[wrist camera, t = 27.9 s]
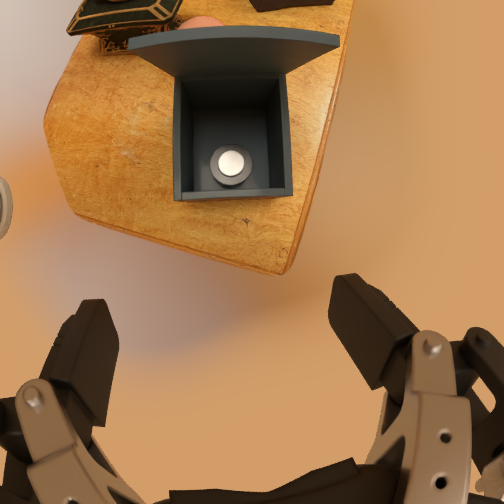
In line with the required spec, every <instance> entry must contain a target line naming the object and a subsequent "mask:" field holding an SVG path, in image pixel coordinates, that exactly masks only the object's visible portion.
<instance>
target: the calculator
mask: <svg viewBox="0 0 504 504" xmlns="http://www.w3.org/2000/svg"><path fill="white" fill-rule="evenodd" d="M250 1H251V3H252V4H253V6H254V7H255V9H256V10H257V11H258V12H261V11H269V10H277V9H280V8H282V7H288V6H302V5H332V4H333V2H334V1H335V0H250Z"/></svg>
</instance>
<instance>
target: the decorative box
mask: <svg viewBox="0 0 504 504" xmlns="http://www.w3.org/2000/svg"><path fill="white" fill-rule="evenodd" d="M182 1H183V0H84V1H83V2H82V3H81V5H80V6H79V8H78V10H77V12H76V13H75V15H74V17H73V19H72V20H71V22H70V24H69V25H68V27H67V29H66V31H67V33H68V34H69V35H70V36H75V35H83V34H91V35H95V36H96V37H98V38H99V41H100V53H101V54H102V56H106V55H117V54H133V53H132V52H130V51H129V50H128V40H129V38H133V37H138V36H143V35H148V34H153V33H159V32H165V31H171V30H177V29H178V28H179V26H180V25H181V24H183V23H184V22H185V20H184V19H183V18H182V17H181V16H179V15H177V12H178V10H179V8H180V5H181V3H182Z"/></svg>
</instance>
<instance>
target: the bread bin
mask: <svg viewBox="0 0 504 504" xmlns="http://www.w3.org/2000/svg"><path fill="white" fill-rule="evenodd" d="M225 144H237V145H240V146H242V147H244V148H245V149H246V150H247V151H248V152H249V153H250V155H251V157H252V161H253V167H252V171H251V173H250V175H249V177H248V178H247V180H246V181H245V183H244V184H243V185H242V186H240V187H239V188H236V189H225V188H222V187H221V186H219V185H218V184H217V183H216V181H215V179H214V177H213V175H212V173H211V171H210V159H211V156H212V154H213V153H214V151H215V150H216V149H218V148H219V147H221V146H223V145H225ZM173 190H174V201H181V202H203V201H221V200H244V199H275V198H281V197H288V196H293V183H292V160H291V142H290V125H289V111H288V98H287V85H286V74H276V73H219V74H202V75H191V76H181V77H175V83H174V105H173Z"/></svg>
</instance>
